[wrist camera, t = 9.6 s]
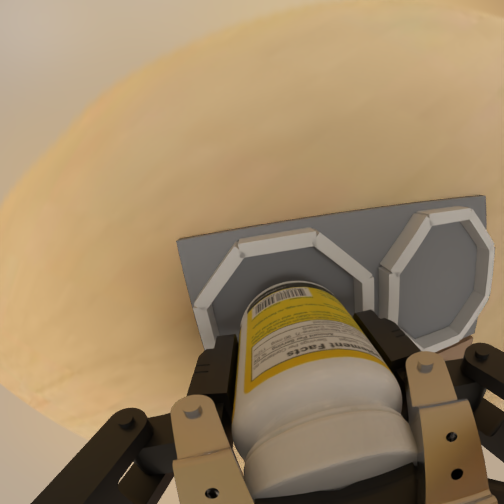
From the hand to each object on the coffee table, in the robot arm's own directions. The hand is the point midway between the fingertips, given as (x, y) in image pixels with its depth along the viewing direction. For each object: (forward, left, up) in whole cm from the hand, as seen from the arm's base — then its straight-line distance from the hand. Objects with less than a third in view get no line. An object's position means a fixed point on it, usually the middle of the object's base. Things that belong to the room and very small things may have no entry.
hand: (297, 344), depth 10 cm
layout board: (-4, +5, -3) cm, 7 cm away
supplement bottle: (0, 0, -2) cm, 2 cm away
